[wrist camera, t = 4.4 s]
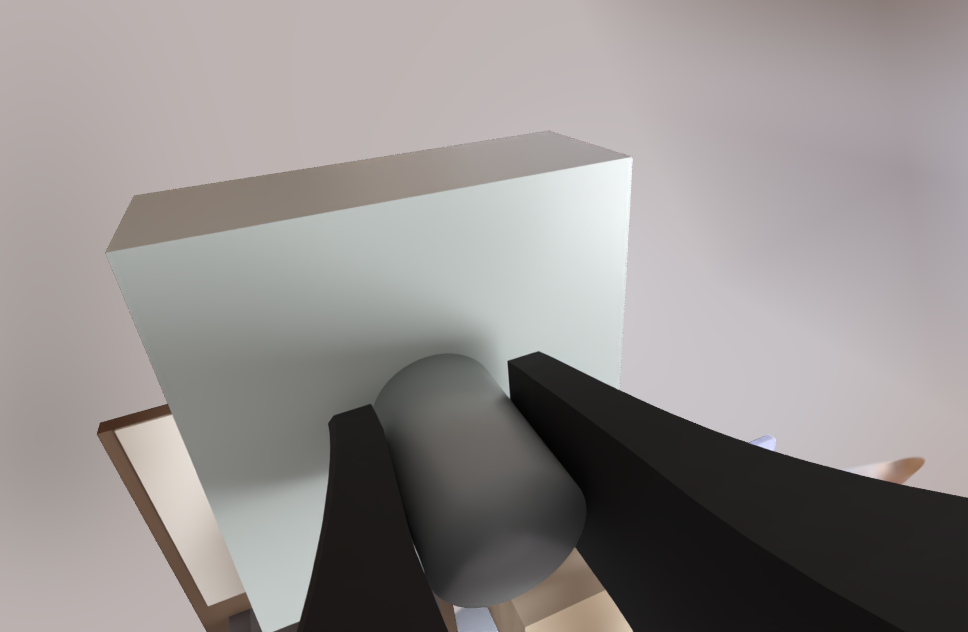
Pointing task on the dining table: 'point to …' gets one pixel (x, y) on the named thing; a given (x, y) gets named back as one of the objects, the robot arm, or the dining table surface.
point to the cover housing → (384, 346)
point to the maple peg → (562, 604)
